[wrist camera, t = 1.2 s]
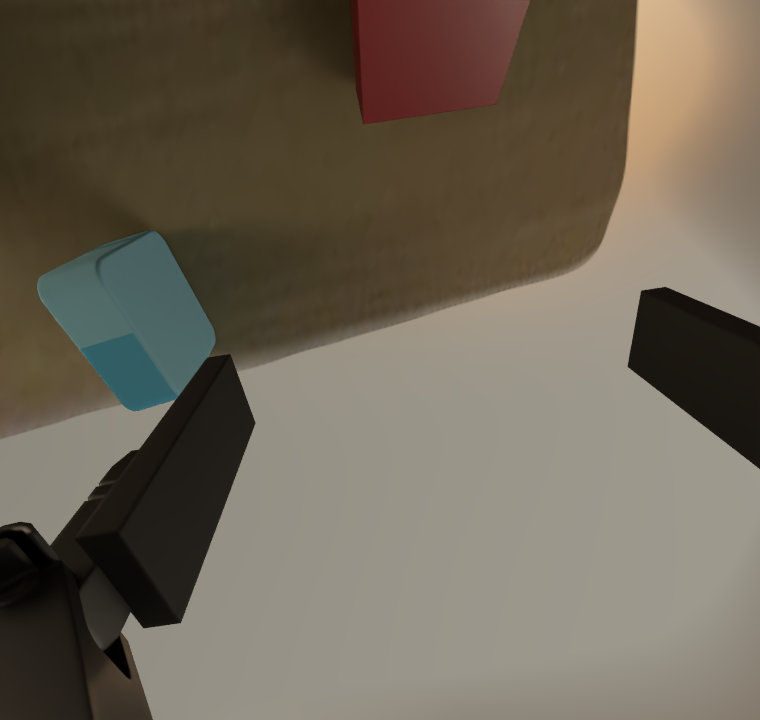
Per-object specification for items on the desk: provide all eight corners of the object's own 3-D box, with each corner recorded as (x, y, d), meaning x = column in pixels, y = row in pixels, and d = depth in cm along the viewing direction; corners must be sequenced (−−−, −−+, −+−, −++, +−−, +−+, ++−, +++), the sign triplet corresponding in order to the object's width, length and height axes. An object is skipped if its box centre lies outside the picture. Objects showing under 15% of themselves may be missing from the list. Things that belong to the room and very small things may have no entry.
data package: (110, 240, 36) (24, 283, 25) (157, 225, 35) (89, 262, 25) (179, 349, 42) (132, 420, 31) (219, 337, 42) (185, 404, 31)
